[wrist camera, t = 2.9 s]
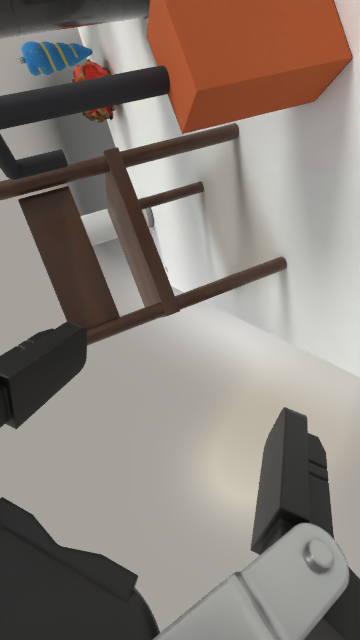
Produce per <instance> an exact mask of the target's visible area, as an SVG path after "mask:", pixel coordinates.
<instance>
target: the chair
mask: <svg viewBox="0 0 360 640" xmlns="http://www.w3.org/2000/svg"><path fill="white" fill-rule="evenodd" d="M238 133H239V131H238V126H237V125H236V124H235V123H234V124H230V125H226V126H222V127H218V128H214V129H210V130H206V131H202V132H198V133H194V134H190V135H186V136H182V137H178V138H174V139H170V140H165V141H161V142H157V143H153V144H149V145H145V146H141V147H137V148H133V149H129V150H125V151H121V152H120V151H119V149H118V147H117V148H113V149H109V150H106V151H104V156H101V157H97V158H93V159H89V160H85V161H81V162H77V163H73V164H69V165H68V166H67V167H64V168H60V169H56V170H52V171H48V172H44V173H40V174H36V175H32V176H28V177H24V178H21V179H16V180H13V179H8V180H4V181H1V182H0V200H4V199H8V198H12V197H16V196H19V195H23V194H27V193H31V192H34V191H39V190H42V189H46V188H50V187H54V186H58V185H61V184H65V183H69V182H73V181H77V180H81V179H84V178H88V177H92V176H96V175H100V174H103V173H105V177H106V192H107V207H108V208H107V209H108V213H109V216H110V218H111V221H112V223H113V226H114V228H115V231H116V234H117V236H118V239H119V241H120V244H121V246H122V249H123V252H124V254H125V257H126V259H127V262H128V265H129V267H130V270H131V272H132V275H133V277H134V280H135V283H136V285H137V288H138V290H139V293H140V296H141V298H142V301H143V303H144V306H145V308H143V309H140V310H137V311H135V312H132V313H130V314H127V315H124V316H122V317H120V316H119V314H118V311H117V308H116V306H115V303H114V301H113V298H112V296H111V293H110V290H109V288H108V286H107V283H106V280H105V278H104V275H103V273H102V270H101V268H100V265H99V262H98V260H97V258H96V255H95V252H94V250H93V247H92V245H91V242H90V239H89V237H88V234H87V232H86V229H85V227H84V224H83V222H82V219H81V217H80V214H79V211H78V209H77V207H76V204H75V201H74V199H73V196H72V194H71V191H70V189H69V187H68V186H67V187H63V188H60V189H56V190H52V191H48V192H44V193H41V194H37V195H33V196H29V197H25V198H22V199H19V200H18V201H19V203H20V206H21V208H22V211H23V213H24V216H25V218H26V221H27V223H28V225H29V228H30V230H31V233H32V235H33V238H34V240H35V243H36V245H37V248H38V250H39V253H40V255H41V258H42V260H43V263H44V265H45V268H46V270H47V273H48V275H49V278H50V280H51V283H52V285H53V287H54V290H55V293H56V295H57V297H58V300H59V302H60V305H61V307H62V310H63V312H64V315H65V317H66V320H67V322H71V323H74V324H76V325H79V326H81V327H84V328H86V330H87V345H90V344H92V343H95V342H98V341H100V340H103V339H105V338H108V337H110V336H113V335H116V334H118V333H121V332H123V331H126V330H128V329H131V328H134V327H136V326H139V325H142V324H144V323H147V322H149V321H152V320H155V319H157V318H161V317H165V316H169V315H171V314H174V313H176V312H179V311H180V309H183V308H186V307H188V306H191V305H193V304H196V303H199V302H201V301H204V300H206V299H209V298H211V297H214V296H217V295H219V294H222V293H224V292H227V291H230V290H232V289H235V288H237V287H240V286H243V285H245V284H248V283H250V282H253V281H255V280H258V279H261V278H263V277H266V276H268V275H271V274H274V273H276V272H279V271H281V270H284V269H285V268H286V261H285V259H284V258H282V257H279V258H276V259H274V260H271V261H268V262H266V263H263V264H260V265H257V266H255V267H252V268H249V269H247V270H244V271H241V272H239V273H236V274H233V275H231V276H228V277H225V278H223V279H220V280H217V281H215V282H212V283H209V284H207V285H204V286H201V287H199V288H196V289H193V290H191V291H188V292H185V293H183V294H180V295H177V296H174V293H173V290H172V288H171V285H170V283H169V280H168V277H167V275H166V272H165V269H164V267H163V264H162V262H161V259H160V256H159V254H158V251H157V248H156V246H155V243H154V241H153V238H152V235H151V233H150V230H149V227H148V225H147V222H146V220H145V217H144V214H143V212H142V210H143V209H147V208H150V207H153V206H157V205H160V204H163V203H167V202H170V201H173V200H177V199H180V198H184V197H187V196H190V195H194V194H197V193H200V192H203V185H202V183H201V182H198V183H194V184H191V185H187V186H184V187H180V188H177V189H173V190H170V191H166V192H163V193H159V194H156V195H153V196H149V197H146V198H142V199H139V200H138V199H137V196H136V193H135V191H134V188H133V185H132V183H131V180H130V177H129V175H128V172H127V170H126V167H130V166H134V165H138V164H142V163H146V162H149V161H153V160H157V159H161V158H165V157H169V156H172V155H176V154H180V153H184V152H188V151H192V150H195V149H199V148H203V147H207V146H211V145H214V144H218V143H222V142H226V141H230V140H234V139H236V138H237V137H238Z"/></svg>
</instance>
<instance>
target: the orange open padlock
mask: <svg viewBox="0 0 360 640" xmlns="http://www.w3.org/2000/svg"><path fill="white" fill-rule="evenodd" d="M147 39H148V42H149V45H150V47H151V50H152V53H153V56H154V58H155V61H156V64H157V66H156V67H151V68H146V69H141V70H135V71H130V72H125V73H120V74H114V75H109V76H104V77H99V78H93V79H88V80H83V81H77V82H72V83H67V84H62V85H57V86H51V87H46V88H41V89H35V90H30V91H25V92H19V93H14V94H9V95H4V96H0V130H1V129H5V128H10V127H15V126H19V125H24V124H29V123H33V122H38V121H43V120H47V119H52V118H57V117H61V116H66V115H71V114H76V113H80V112H85V111H90V110H94V109H99V108H104V107H109V106H113V105H118V104H123V103H127V102H132V101H137V100H141V99H146V98H151V97H155V96H160V95H165V94H168V96H169V99H170V102H171V104H172V107H173V110H174V113H175V115H176V118H177V121H178V124H179V126H180V129H181V132H182V134H184V133H188V132H192V131H196V130H200V129H205V128H209V127H213V126H217V125H221V124H225V123H229V122H233V121H237V120H241V119H245V118H249V117H253V116H257V115H261V114H265V113H269V112H273V111H277V110H281V109H285V108H289V107H293V106H298V105H302V104H306V103H310V102H314V101H315V100H316V99H317V98H318V97H319V95H320V94H321V93H322V92H323V91H324V90H325V89H326V87H327V86H328V85H329V84H330V83H331V82H332V81H333V79H334V78H335V77H336V76H337V75H338V74H339V73H340V71H341V70H342V69H343V68H344V67H345V66H346V65H347V63H348V62H349V61H350V60H351V59H352V55H351V52H350V49H349V46H348V43H347V40H346V37H345V34H344V31H343V28H342V25H341V22H340V19H339V16H338V13H337V10H336V7H335V4H334V1H333V0H150V8H149V18H148V27H147ZM67 166H68V164H67V161H66V158H65V155H64V153H63V151H62V150H57V151H52V152H48V153H44V154H40V155H36V156H31V157H27V158H23V159H19V160H15V158H14V156H13V155H12V153H11V151H10V150H9V148H8V146H7V145H6V143H5V141H4V140H3V138H2V136H1V134H0V168H1V169H2V171H3V172H4V173H5V175H6V176H7V177H8V178H10V179H13V180H16V179H21V178H24V177H28V176H32V175H36V174H40V173H44V172H48V171H52V170H56V169H60V168H64V167H67Z"/></svg>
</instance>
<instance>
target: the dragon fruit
mask: <svg viewBox="0 0 360 640" xmlns="http://www.w3.org/2000/svg"><path fill="white" fill-rule="evenodd" d="M73 75H74V79H73V80H72V81H71V83H72V82H77V81H83V80H88V79H93V78H99V77H104V76H109V75H111V74H110V73H109V71H108V69H107V68H105V67H103V68H102V67H101V66H99V65H98V64H96V63H94V62H91V61H90V59H88V60H87V63H85V64H84V65H82V66H79V65H77V66H76V67H75V68H74V71H73ZM112 107H113V108H112ZM114 110H115V105H113V106H109V107H104V108H99V109H94V110H90V111H85V112H82V114H83V115H85V116H86V118H88V119H89V120H91V121H97V122H103V121H104V120H106V119H109V118H110V120H112V119H113V112H112V111H114Z"/></svg>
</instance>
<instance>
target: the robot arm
mask: <svg viewBox="0 0 360 640" xmlns="http://www.w3.org/2000/svg"><path fill="white" fill-rule="evenodd" d="M149 8H150V0H0V38H7V37H14V36H20V35H26V34H33V33H38V32H39V33H40V32H46V31H53V30H60V29H67V28H74V27H81V26H87V25H94V24H101V23H108V22H115V21H123V20H130V19H136V18H145V19H146V18H149ZM86 355H87V330H86V328H84V327H81V326H79V325H76V324H74V323H71V322H66V323H64V324H62V325H61V326H59V327H58V328H56V329H49V330H46V331H42V332H39V333H37V334H35V335H34V336H32V337H31V338H29V339H28V340H27V341H24V342H22V343H21V344H19V345H18V347H17V346H16V347H14V348H13V349H11V350H10V351H8V352H6V353H4V354H3V355H1V356H0V427H1V426H3V425H4V424H7V425H9V426H11V427H13V428H15V429H17V428H18V427H19V426H20V425H21V424H23V423H24V422H25V421H26V420H27V419H28V418H29V417H30V416H31V415H32V414H34V413H35V412H36V411H37V410H38V409H39V408H40V407H41V406H43V405H44V404H45V403H46V402H47V401H48V400H49V399H50V398H51V397H52V396H53V395H55V394H56V393H57V392H58V391H59V390H60V389H61V388H62V387H64V386H65V385H66V384H67V383H68V382H69V381H70V380H71V379H72V378H73V377H75V375H77V374H78V373H79V372H80V371H81V369H82V368H83V367H84V365H85V362H86ZM251 551H253V552H255V553H258V554H259V555H260V556H259V557H258V558H257V559H255V560H254V561H253V562H252V563H250V564H249V565H248V566H247V567H246V568H244V569H243V570H242V571H240V572H235V573H233V574H232V575H231V576H229V577H228V578H226V579H225V580H224V581H223V582H222V583H220V584H219V585H218V586H217V587H215V588H214V589H213V590H212V591H211V592H209V593H208V594H207V595H206V596H205V597H203V598H202V599H201V600H200V601H199V602H197V603H196V604H195V605H194V606H193V607H191V608H190V609H189V610H188V611H187V612H185V613H184V614H183V615H181V616H180V617H179V618H178V619H177V620H176V621H174V622H173V623H172V624H171V625H169V626H168V627H167V628H166V629H165V630H163V631H162V632H161V633H160V631H159V628H158V626H157V623H156V620H155V618H154V616H153V614H152V612H151V610H150V608H149V606H148V604H147V603H146V602H145V600H144V598H143V597H142V596H141V594H140V593H139V592H138V591H137V590H136V588H135V585H136V582H137V578H138V576H137V575H136V574H134V573H133V572H131V571H129V570H127V569H126V568H124V567H122V566H120V565H118V564H117V563H115V562H114V561H112V560H110V559H108V558H107V557H105V556H103V555H101V554H96V553H91V552H86V551H81V550H76V549H72V548H67V547H62V546H59V545H58V544H57V543H56V542H55V541H54V540H53V539H52V538H51V537H50V535H49V534H48V533H47V532H46V530H45V529H44V528H43V527H42V526H41V524H40V523H39V522H38V521H37V520H36V518H35V517H34V516H33V515H32V514H31V513H29V512H27V511H25V510H24V509H22V508H20V507H18V506H17V505H15V504H13V503H12V502H10V501H8V500H6V499H5V498H3V497H2V498H1V499H0V640H360V579H359V578H358V577H357V576H356V575H355V574H354V572H353V571H352V570H351V569H350V568H349V566H348V564H347V561H346V558H345V556H344V554H343V551H342V550H341V548H340V547H339V545H338V544H337V542H335V539H334V535H333V526H332V515H331V504H330V493H329V483H328V472H327V460H326V452H325V450H324V448H323V446H322V444H321V442H320V440H319V438H318V437H316V436H314V435H312V434H309V433H308V431H307V417H306V416H305V415H303V414H300V413H298V412H295V411H293V410H290V409H288V408H285V407H284V408H283V409H282V411H281V413H280V415H279V417H278V418H277V420H276V422H275V424H274V426H273V428H272V430H271V432H270V434H269V436H268V438H267V441H266V444H265V447H264V452H263V459H262V467H261V474H260V482H259V490H258V497H257V505H256V513H255V520H254V528H253V536H252V543H251Z"/></svg>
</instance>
